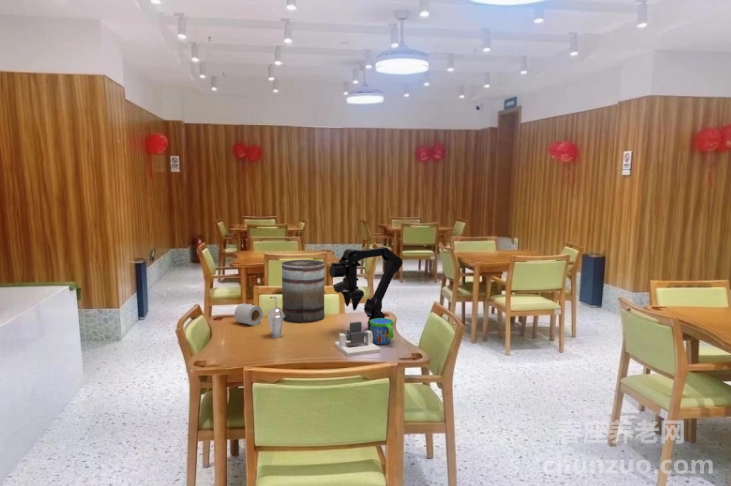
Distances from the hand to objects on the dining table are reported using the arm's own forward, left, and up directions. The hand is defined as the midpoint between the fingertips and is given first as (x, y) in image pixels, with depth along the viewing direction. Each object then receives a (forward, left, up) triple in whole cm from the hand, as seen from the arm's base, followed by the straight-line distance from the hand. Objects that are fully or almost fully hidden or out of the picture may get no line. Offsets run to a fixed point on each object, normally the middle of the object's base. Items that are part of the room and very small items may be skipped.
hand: (350, 308), depth 236 cm
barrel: (+12, -39, -13) cm, 43 cm away
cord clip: (+5, +19, -10) cm, 22 cm away
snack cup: (-9, +17, -13) cm, 23 cm away
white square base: (+5, +21, -13) cm, 25 cm away
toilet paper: (+42, -37, -13) cm, 58 cm away
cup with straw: (+34, -10, -13) cm, 38 cm away
